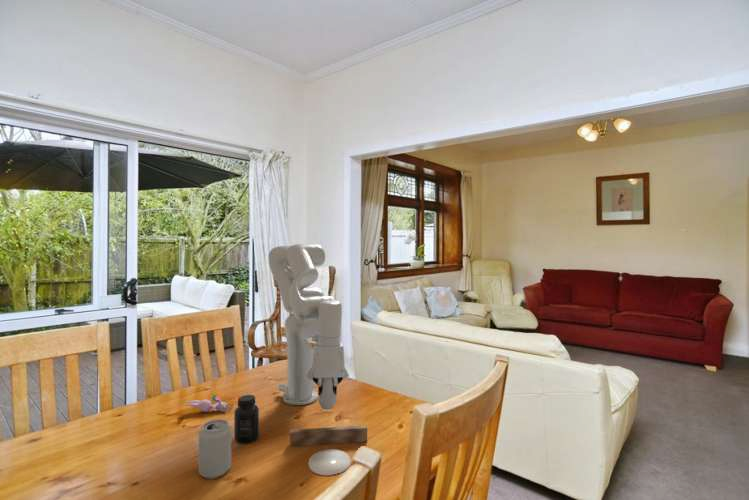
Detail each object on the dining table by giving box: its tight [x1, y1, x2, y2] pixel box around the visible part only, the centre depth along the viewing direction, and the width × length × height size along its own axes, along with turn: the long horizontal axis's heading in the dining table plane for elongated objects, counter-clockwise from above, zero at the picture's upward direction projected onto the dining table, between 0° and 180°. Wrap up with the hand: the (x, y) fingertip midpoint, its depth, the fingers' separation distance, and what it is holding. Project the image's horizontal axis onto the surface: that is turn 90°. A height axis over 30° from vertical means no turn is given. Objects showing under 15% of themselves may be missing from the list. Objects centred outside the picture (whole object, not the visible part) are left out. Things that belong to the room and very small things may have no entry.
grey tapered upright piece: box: [317, 378, 337, 411], centre depth 120 cm, size 6×6×13 cm
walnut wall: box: [289, 425, 368, 447], centre depth 109 cm, size 22×2×4 cm, turn 98°
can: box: [198, 418, 232, 479], centre depth 95 cm, size 8×8×12 cm
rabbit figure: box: [184, 394, 234, 413], centre depth 128 cm, size 6×6×15 cm
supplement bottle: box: [233, 394, 260, 445], centre depth 111 cm, size 7×7×12 cm
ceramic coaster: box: [308, 448, 352, 476], centre depth 100 cm, size 11×11×1 cm
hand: (327, 396), depth 120 cm, fingers closed on grey tapered upright piece, 3 cm apart
